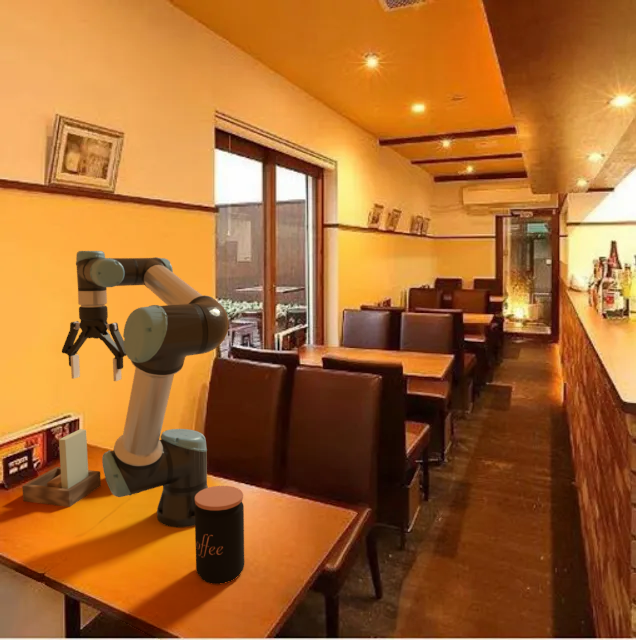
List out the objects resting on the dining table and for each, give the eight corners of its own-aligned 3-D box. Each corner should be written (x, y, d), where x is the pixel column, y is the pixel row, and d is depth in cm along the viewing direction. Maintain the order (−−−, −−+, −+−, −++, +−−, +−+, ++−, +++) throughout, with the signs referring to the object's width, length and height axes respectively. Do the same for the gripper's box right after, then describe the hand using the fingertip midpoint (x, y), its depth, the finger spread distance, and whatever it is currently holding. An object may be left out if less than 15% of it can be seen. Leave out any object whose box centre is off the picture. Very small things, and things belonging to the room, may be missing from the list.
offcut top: (74, 481, 162) (73, 473, 162) (58, 492, 155) (58, 483, 155) (63, 480, 163) (63, 472, 162) (47, 491, 155) (47, 482, 155)
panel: (89, 488, 163) (86, 429, 161) (68, 501, 154) (65, 440, 152) (83, 487, 164) (80, 429, 161) (62, 501, 155) (58, 439, 153)
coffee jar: (187, 571, 124) (184, 495, 122) (226, 553, 131) (225, 481, 129) (213, 592, 117) (212, 511, 114) (254, 572, 124) (253, 495, 122)
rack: (101, 490, 165) (100, 471, 164) (70, 512, 152) (68, 491, 151) (57, 485, 169) (56, 466, 168) (23, 506, 155) (22, 485, 154)
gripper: (139, 305, 157) (142, 378, 160) (63, 303, 163) (67, 373, 165) (125, 308, 150) (128, 384, 152) (45, 305, 155) (50, 379, 158)
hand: (96, 378), depth 159 cm, fingers open, 13 cm apart
